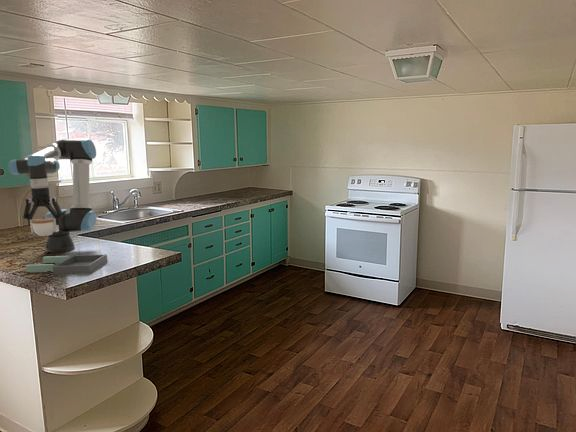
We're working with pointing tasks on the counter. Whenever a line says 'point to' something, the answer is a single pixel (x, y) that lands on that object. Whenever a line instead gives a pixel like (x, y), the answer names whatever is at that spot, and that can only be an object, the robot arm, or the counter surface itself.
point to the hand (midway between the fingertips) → (45, 232)
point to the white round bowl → (43, 226)
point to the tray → (80, 264)
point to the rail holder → (46, 266)
